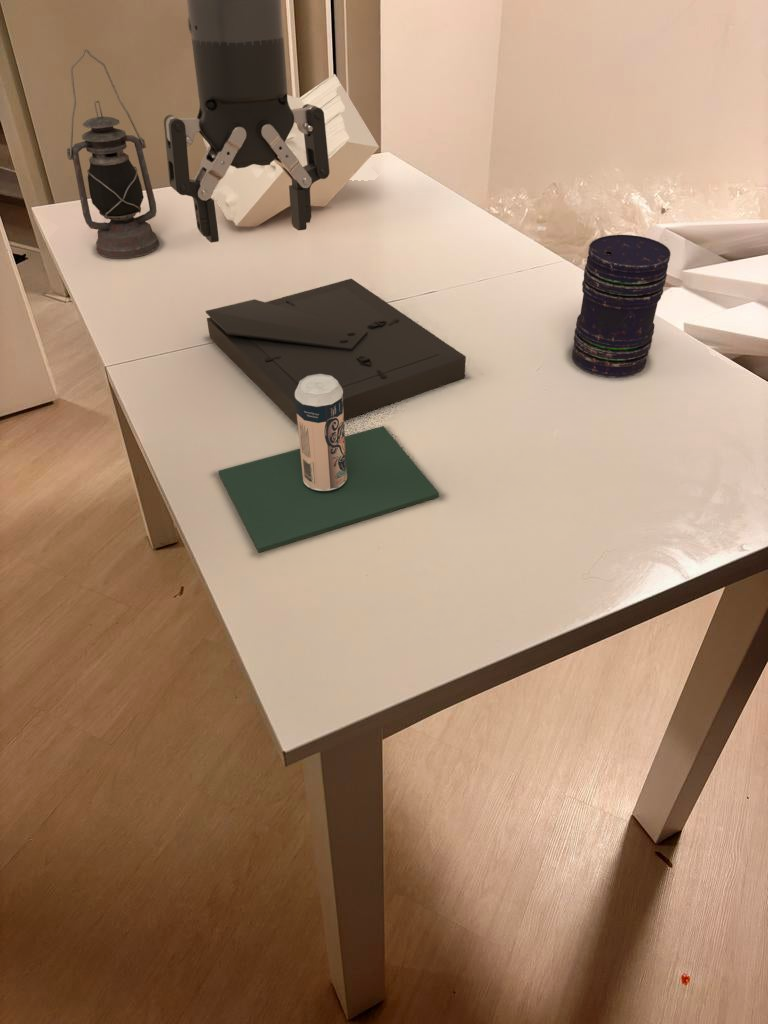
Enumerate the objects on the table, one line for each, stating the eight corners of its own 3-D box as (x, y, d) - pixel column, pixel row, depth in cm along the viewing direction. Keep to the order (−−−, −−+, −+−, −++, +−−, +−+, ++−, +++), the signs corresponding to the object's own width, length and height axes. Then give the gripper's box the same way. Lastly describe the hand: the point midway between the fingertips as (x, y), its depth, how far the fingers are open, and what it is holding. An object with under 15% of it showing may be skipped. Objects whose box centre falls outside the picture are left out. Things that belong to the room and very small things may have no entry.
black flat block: (210, 338, 113) (305, 434, 94) (205, 310, 110) (303, 404, 91) (352, 297, 122) (464, 377, 104) (351, 271, 119) (466, 348, 101)
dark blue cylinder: (621, 336, 112) (643, 230, 102) (661, 370, 104) (688, 259, 95) (557, 348, 109) (573, 240, 100) (594, 383, 102) (614, 271, 92)
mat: (258, 553, 79) (257, 548, 78) (218, 474, 88) (218, 470, 88) (439, 497, 85) (439, 492, 85) (383, 430, 95) (383, 425, 94)
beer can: (346, 494, 85) (341, 397, 77) (301, 494, 85) (291, 397, 77) (348, 467, 88) (343, 371, 80) (305, 467, 88) (296, 371, 81)
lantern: (153, 229, 144) (116, 38, 125) (173, 249, 137) (136, 50, 118) (84, 243, 140) (34, 47, 120) (100, 265, 133) (50, 60, 113)
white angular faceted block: (221, 237, 142) (306, 135, 126) (178, 162, 143) (257, 52, 127) (296, 238, 158) (379, 147, 142) (256, 171, 159) (334, 74, 143)
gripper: (161, 40, 60) (192, 256, 70) (335, 32, 66) (342, 234, 75) (140, 33, 66) (171, 234, 75) (301, 26, 71) (312, 215, 80)
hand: (256, 234), depth 75 cm, fingers open, 8 cm apart
